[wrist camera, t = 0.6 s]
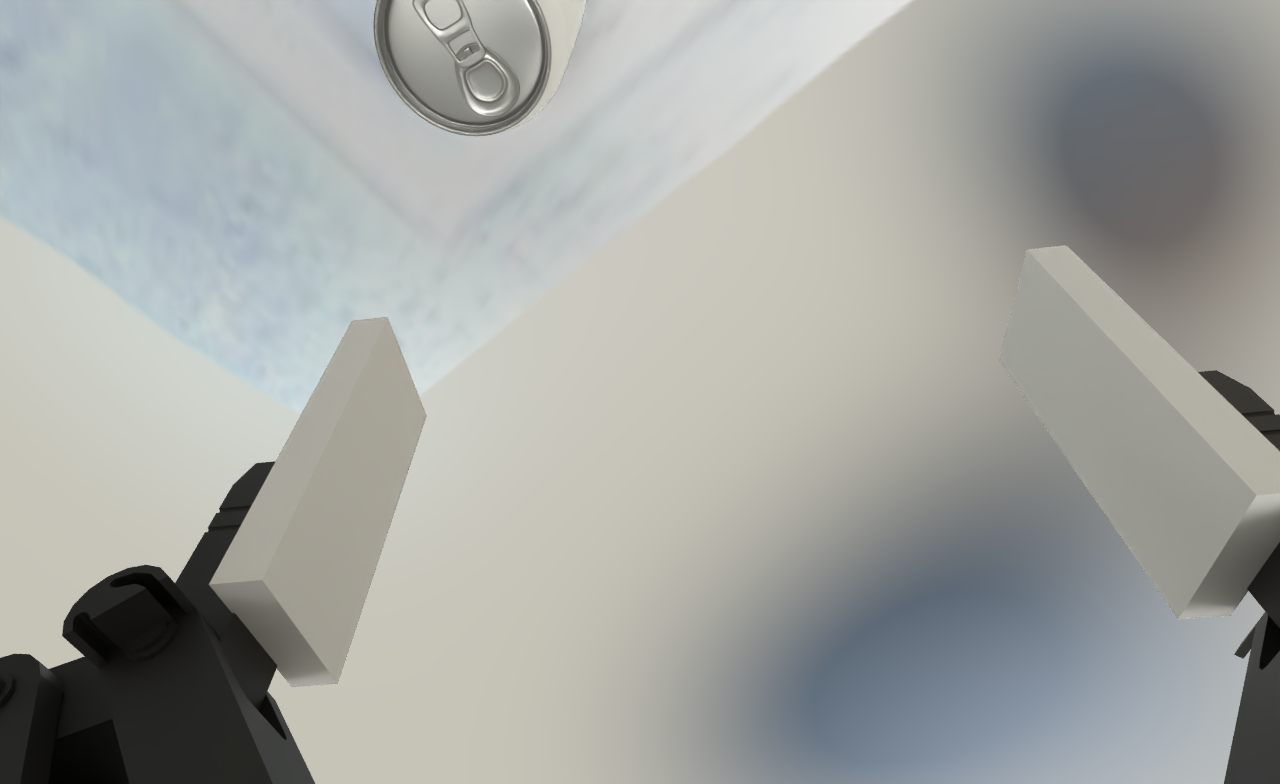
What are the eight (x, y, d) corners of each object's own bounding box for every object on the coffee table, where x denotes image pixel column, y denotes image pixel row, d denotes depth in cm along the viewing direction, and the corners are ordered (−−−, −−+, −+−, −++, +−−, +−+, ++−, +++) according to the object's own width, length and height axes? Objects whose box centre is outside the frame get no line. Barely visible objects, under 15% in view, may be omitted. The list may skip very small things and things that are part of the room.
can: (497, 85, 35) (442, 180, 25) (413, -53, 31) (314, -2, 22) (613, 18, 33) (601, 94, 24) (538, -137, 29) (489, -121, 20)
